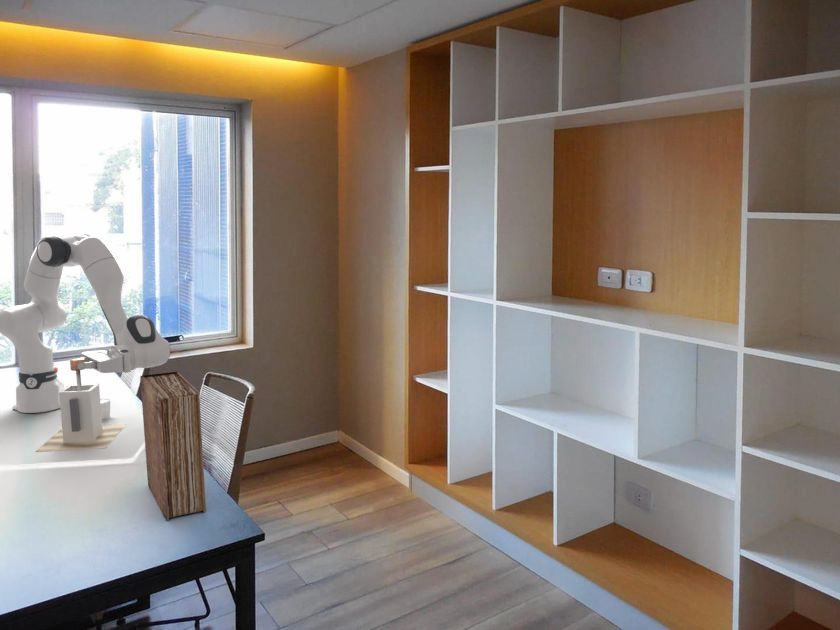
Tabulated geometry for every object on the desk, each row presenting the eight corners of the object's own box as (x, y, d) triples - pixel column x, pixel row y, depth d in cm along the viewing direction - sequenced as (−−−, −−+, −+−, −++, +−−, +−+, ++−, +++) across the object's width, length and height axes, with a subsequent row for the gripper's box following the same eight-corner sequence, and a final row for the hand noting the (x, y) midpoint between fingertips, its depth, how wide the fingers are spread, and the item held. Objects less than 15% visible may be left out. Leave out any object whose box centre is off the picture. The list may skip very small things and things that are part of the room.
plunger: (76, 430, 224) (70, 358, 221) (96, 429, 225) (90, 357, 222) (69, 436, 218) (63, 362, 215) (90, 435, 219) (84, 361, 216)
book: (206, 513, 169) (199, 392, 164) (166, 522, 164) (158, 397, 160) (183, 478, 191) (177, 371, 186) (147, 485, 186) (140, 375, 181)
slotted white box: (73, 433, 226) (69, 385, 223) (102, 432, 227) (98, 384, 225) (60, 444, 215) (56, 394, 213) (91, 443, 216) (87, 392, 214)
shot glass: (103, 424, 240) (102, 404, 239) (85, 423, 241) (84, 403, 240) (116, 418, 246) (114, 399, 245) (98, 417, 248) (97, 398, 247)
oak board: (63, 430, 233) (63, 427, 232) (126, 427, 235) (126, 424, 235) (35, 455, 209) (34, 451, 209) (105, 452, 212) (105, 448, 212)
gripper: (108, 344, 234) (63, 350, 225) (131, 353, 219) (84, 359, 210) (109, 362, 235) (65, 369, 226) (132, 373, 220) (85, 380, 211)
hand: (74, 364), depth 218 cm, fingers closed on plunger, 4 cm apart
